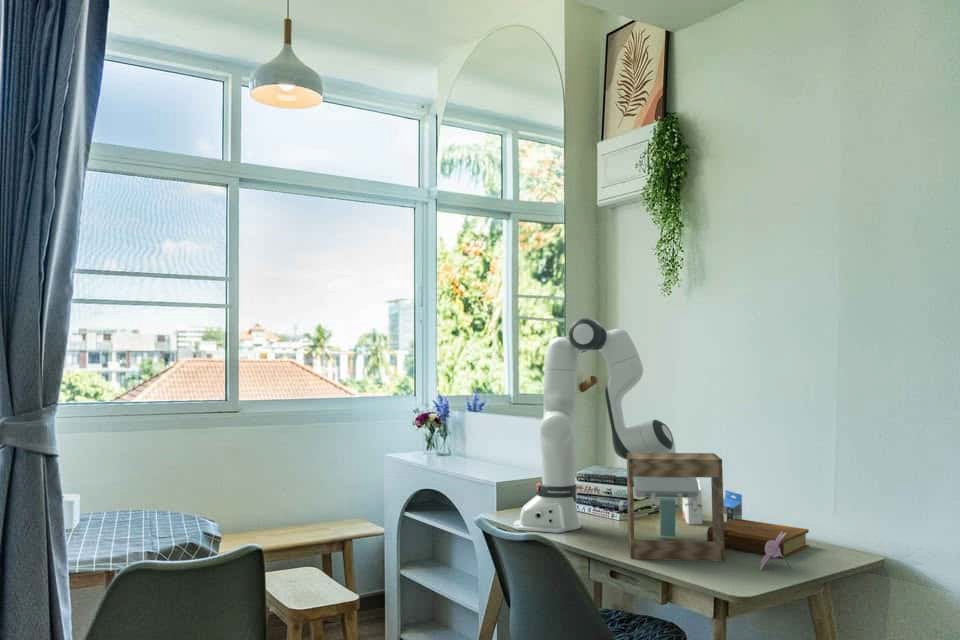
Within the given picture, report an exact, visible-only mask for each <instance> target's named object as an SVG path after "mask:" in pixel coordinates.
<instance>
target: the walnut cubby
mask: <svg viewBox="0 0 960 640" xmlns="http://www.w3.org/2000/svg"><path fill="white" fill-rule="evenodd" d="M723 474H724V473H723V458H721V457H720V456H718V455H717V454H715V452H714V453H713V452H709V453H708V452H676V453H627V460H626V481H627V483H626V486H627V487H626V488H627V493H626V494H627V531H628V533H627V535H628V538H627V539H628V541H627V542H628V550H629V556H630V559H634V560H635V559H637V560H638V559H639V560H664V559H672V560H673V561H675V560H674V559H677V560H676V561H679V560H678V559H681V560H680V561H700V560H717V561H716V562H725V560H726V559H725V557H726V556H725V551H726V550H725V548H724V512H723V499H724V483H723V481H724V479H723ZM633 477H696V478H710V479H711V481H710V482H711V519H712V523H711V527H713V542H707V541H704V540H703V541H700V540H699V541H698V540H697V541H696V540H663V539H662V540H660V539H657V540H656V539H635V519H634V518H635V517H634V515H635V512H634V511H635V510H634V506H635V505H634V481H633Z"/></svg>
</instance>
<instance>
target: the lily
mask: <svg viewBox="0 0 960 640" xmlns="http://www.w3.org/2000/svg"><path fill="white" fill-rule="evenodd" d="M781 534H782V532H781V533H780V534H779V535H778V537H777V538H776V540H775V541H774V540H770V541H768V542H767V543H766V545H765V552H766V555H763V557H762V558H761V560H760V563H759V564H760V568H759V569H760V571H761V570H762V569H763V567H764V566H765V564H766V563H767V561H768V560H770V559H773V558H777V556H781V557H782V558H783V560H784V561H785V563H786V565H787V566H788V567H789V568H790V569H791V568H792V567H791V565H790V563H789V562H788V561H787V560H786V558H784V557H783V556H782V555H781V550H780V541H781V540H782V538H783V537H784V536H785V534H786V533H784V534H782V535H781ZM782 558H781V559H782Z"/></svg>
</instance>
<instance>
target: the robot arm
mask: <svg viewBox="0 0 960 640" xmlns="http://www.w3.org/2000/svg"><path fill="white" fill-rule="evenodd" d="M546 350H547V351H546V353H545V360H544V361H545V362H544V371H543V372H544V373H543V418H542V419H541V421H540V424H539V433H540V435H539V439H540V451H541V467H542V469H541V479H542V480H541V481H542V483H540V482H538V483H536V484H535V489H536V495H535V496H534V497H533V498H531V499H530V500H529V501H528V502H526V503H525V504H524V505H523V506H522V508H521V511H520V515H519V519H517V520H515V521H514V522H513V529H515V530H517V531H527V532H528V531H531V532H543V533H545V532H546V533H556V534H557V533H559V534H560V533H564V532H567V531H575V530H578V529H580V528H581V527H582V525H581V523H580V518H579V514H578V506H577V500H578V488H577V483H576V462H575V461H576V459H575V457H576V456H575V442H574V432H575V429H576V414H577V413H576V408H577V407H576V405H577V382H578V381H577V380H578V364H579V363H578V361H579V357H580V354H582V353H587V352H592V351H598V352H600V353H601V355H602V356H603V358H604V361H605V364H606V367H607V370H608V382H607V383H606V384H605V386H604V387H605V389H604V394H605V401H606V408H607V412H608V418H609V423H610V424H609V425H610V429H611V439H612V447H613V450H614V452H615V454H616V455H617V456H618V457H620V458H621V459H624V460H626V461H627V453H677V451H676V444H675V439H674V437H673V434H672V431H671V430H670V428H669V427H668V426H667V424H665V423H664V422H662V421H661V420H659V419H651V420H649V421H648V420H647V421H645V422H642V423H639V424H635V425H633V426H630V427H626V425H625V423H626V422H625V419H624V413H623V408H622V401H623V398H624V397H625V396H626V394H628V392H630V391H631V390H632V389H633V388H634V387H636V385H638V383H639V382H640V380H641V379H642V376H643V375H644V374H643V373H644V368H643V364H642V360H641V358H640V356H639V352H638V349H637V348H636V345H635V343H634V342H633V340H632V338H631V336H630V335H629V333H628V332H627V331H626V330H624V329H621V328H614V329H610V330H606V329H605V328H604V327H603V325H602V324H601V323H600V322H599V321H597V320H596V319H594V318H590V317H582V318H579V319H577V320H574V322H573V323H572V324H571V325H570V326H569V330H568V335H566V336H557V337H554V338H552V339H551V340H550V341H549V343H548V346H547V349H546ZM696 478H697V477H633V496H635V497H637V498H650V499H651V501H652V502H653V503H654V506H655V508H656V509H660V499H659V500H658V498H677V499H676V500H675V509H680V505H681V504H680V503H681V502H682V498H696V497H697V496H698V494H699V487H698V482H697V479H698V478H697V479H696Z"/></svg>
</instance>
